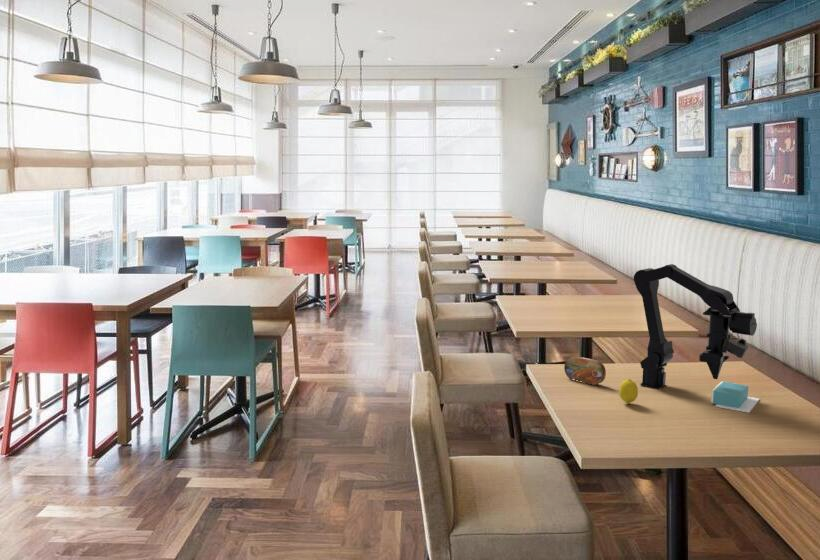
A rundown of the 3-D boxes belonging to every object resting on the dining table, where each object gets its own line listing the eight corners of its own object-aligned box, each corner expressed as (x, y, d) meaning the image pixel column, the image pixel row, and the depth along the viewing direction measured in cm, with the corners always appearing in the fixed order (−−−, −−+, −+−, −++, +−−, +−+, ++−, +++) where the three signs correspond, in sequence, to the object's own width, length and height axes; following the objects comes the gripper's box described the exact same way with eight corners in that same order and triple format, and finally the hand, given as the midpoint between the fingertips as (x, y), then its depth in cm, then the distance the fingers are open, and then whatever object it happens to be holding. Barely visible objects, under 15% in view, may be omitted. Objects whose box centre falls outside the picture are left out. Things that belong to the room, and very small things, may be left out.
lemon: (638, 402, 223) (639, 377, 222) (635, 407, 218) (637, 382, 217) (620, 400, 225) (621, 375, 224) (617, 405, 220) (618, 380, 219)
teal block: (712, 390, 221) (739, 395, 216) (721, 381, 230) (748, 385, 226) (711, 402, 221) (738, 408, 217) (720, 393, 231) (747, 397, 226)
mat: (715, 406, 219) (715, 405, 219) (727, 394, 231) (727, 393, 231) (749, 412, 214) (749, 411, 214) (759, 399, 226) (759, 398, 226)
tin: (563, 378, 249) (564, 354, 248) (568, 376, 251) (569, 353, 250) (601, 387, 238) (602, 363, 237) (606, 385, 240) (607, 361, 239)
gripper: (739, 339, 211) (736, 390, 213) (753, 328, 226) (749, 376, 228) (700, 334, 218) (697, 384, 220) (715, 324, 232) (712, 370, 235)
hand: (715, 378), depth 226 cm, fingers closed
